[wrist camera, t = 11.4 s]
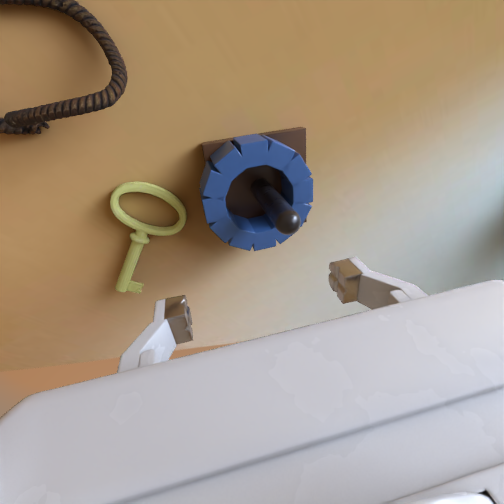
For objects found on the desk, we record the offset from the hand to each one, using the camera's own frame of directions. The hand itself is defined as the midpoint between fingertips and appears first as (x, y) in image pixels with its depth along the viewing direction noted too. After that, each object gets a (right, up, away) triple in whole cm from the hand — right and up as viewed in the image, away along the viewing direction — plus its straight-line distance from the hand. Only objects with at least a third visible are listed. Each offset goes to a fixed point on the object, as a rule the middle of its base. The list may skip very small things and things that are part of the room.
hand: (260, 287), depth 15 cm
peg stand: (0, +9, +14) cm, 17 cm away
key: (-12, +4, +14) cm, 19 cm away
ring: (-1, +8, +13) cm, 16 cm away
